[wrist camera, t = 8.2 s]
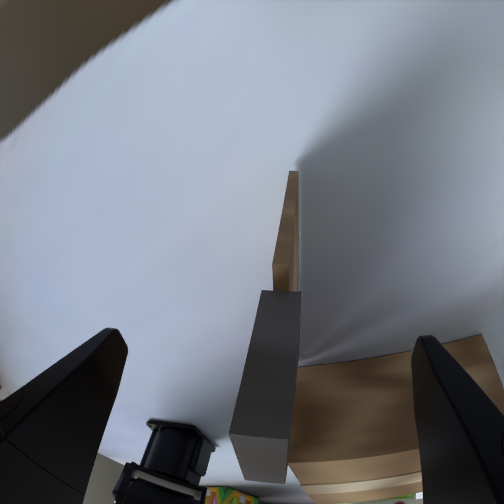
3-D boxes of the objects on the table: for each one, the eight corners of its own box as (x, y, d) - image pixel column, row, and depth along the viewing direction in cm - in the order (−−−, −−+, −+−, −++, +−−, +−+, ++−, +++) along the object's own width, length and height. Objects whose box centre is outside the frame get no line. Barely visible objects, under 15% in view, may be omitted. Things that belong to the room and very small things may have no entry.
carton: (320, 439, 27) (315, 505, 21) (296, 367, 21) (285, 464, 15) (452, 418, 23) (462, 481, 17) (482, 333, 17) (514, 421, 11)
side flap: (299, 366, 21) (281, 526, 11) (285, 366, 21) (262, 525, 11) (304, 171, 14) (289, 417, 4) (282, 171, 14) (221, 412, 4)
